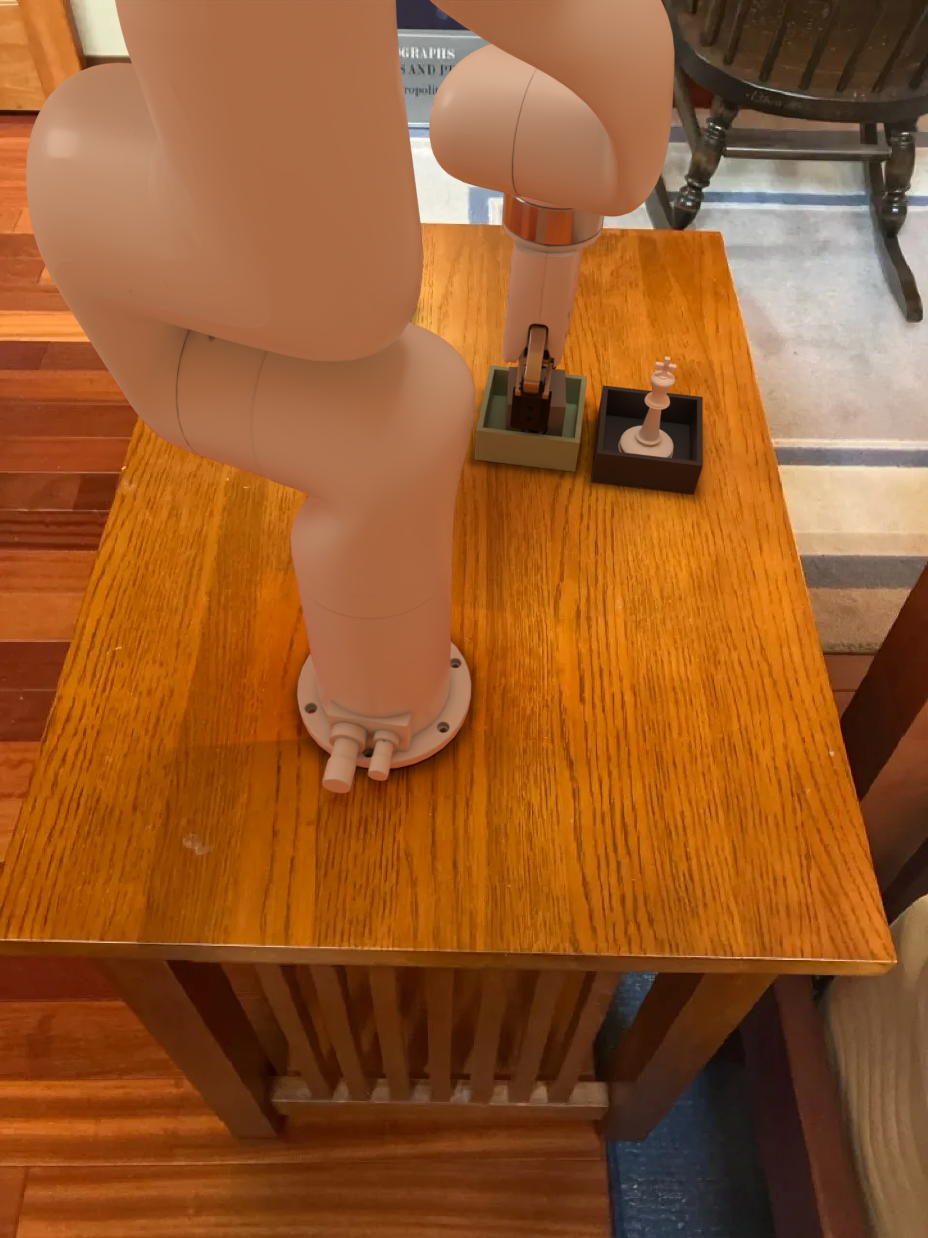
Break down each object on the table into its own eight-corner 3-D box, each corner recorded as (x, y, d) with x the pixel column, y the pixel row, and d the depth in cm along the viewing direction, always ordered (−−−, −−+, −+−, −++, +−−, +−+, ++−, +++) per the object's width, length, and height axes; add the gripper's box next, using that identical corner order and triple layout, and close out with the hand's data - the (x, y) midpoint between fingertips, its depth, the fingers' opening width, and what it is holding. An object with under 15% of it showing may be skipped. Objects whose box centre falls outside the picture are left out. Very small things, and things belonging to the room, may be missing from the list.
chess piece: (670, 472, 82) (696, 381, 74) (615, 463, 83) (634, 372, 75) (674, 435, 85) (699, 344, 77) (621, 426, 86) (640, 335, 78)
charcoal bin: (693, 494, 81) (703, 465, 78) (591, 482, 82) (596, 452, 79) (694, 426, 87) (702, 396, 84) (597, 414, 87) (603, 384, 84)
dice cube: (505, 410, 87) (509, 366, 83) (559, 413, 86) (565, 369, 82) (504, 447, 84) (507, 403, 80) (559, 450, 84) (566, 407, 80)
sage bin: (575, 472, 83) (579, 442, 80) (474, 459, 83) (476, 430, 80) (582, 405, 88) (587, 375, 85) (488, 394, 89) (490, 364, 86)
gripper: (516, 143, 74) (503, 331, 88) (487, 267, 63) (478, 458, 77) (611, 152, 73) (583, 340, 87) (597, 279, 63) (567, 469, 77)
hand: (533, 395), depth 82 cm, fingers open, 7 cm apart
